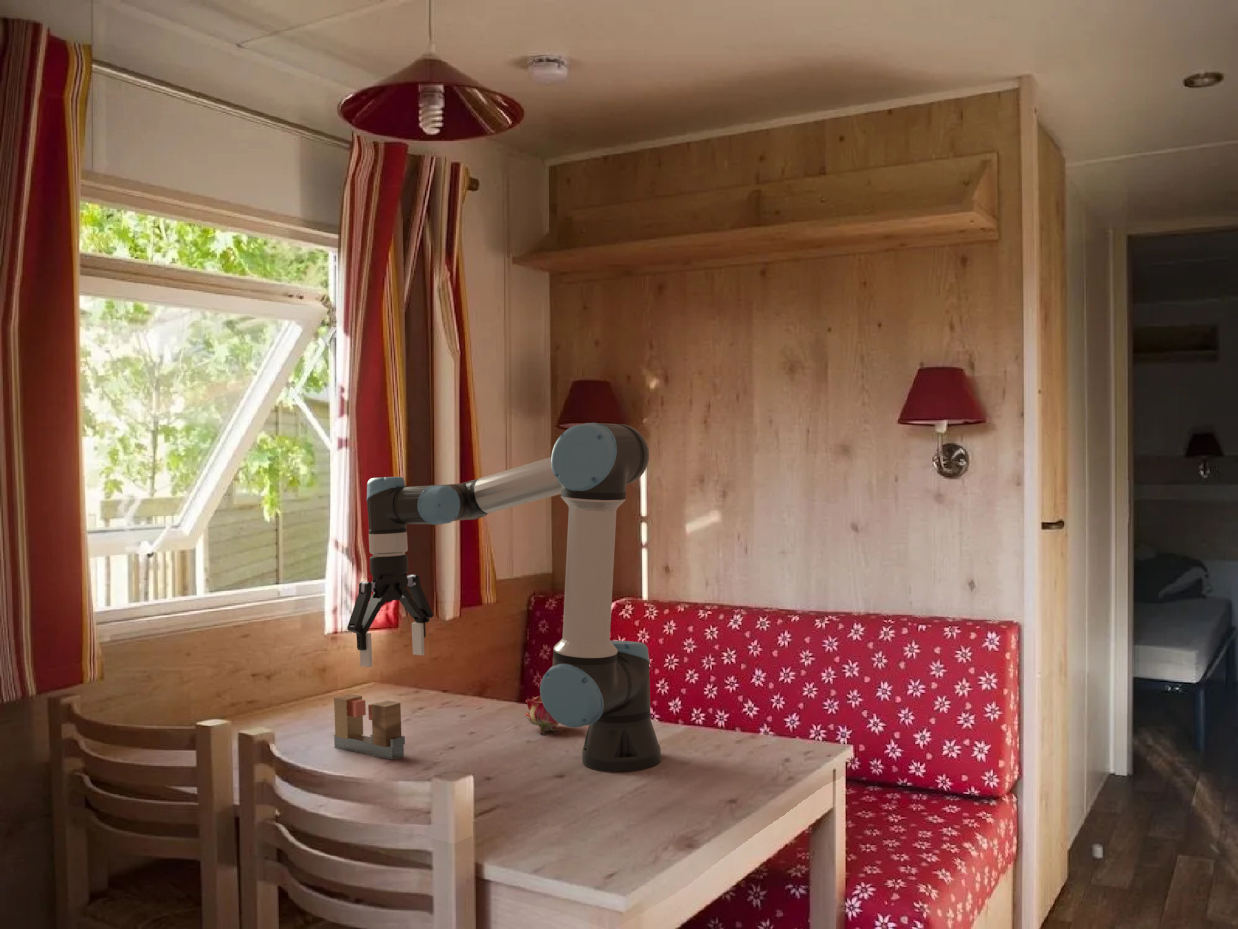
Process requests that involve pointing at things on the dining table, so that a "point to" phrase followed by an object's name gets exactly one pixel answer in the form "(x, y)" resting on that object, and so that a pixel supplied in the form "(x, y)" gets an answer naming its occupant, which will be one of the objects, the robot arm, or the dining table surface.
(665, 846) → the dining table surface
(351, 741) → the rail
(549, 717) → the flower
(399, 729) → the walnut finger
